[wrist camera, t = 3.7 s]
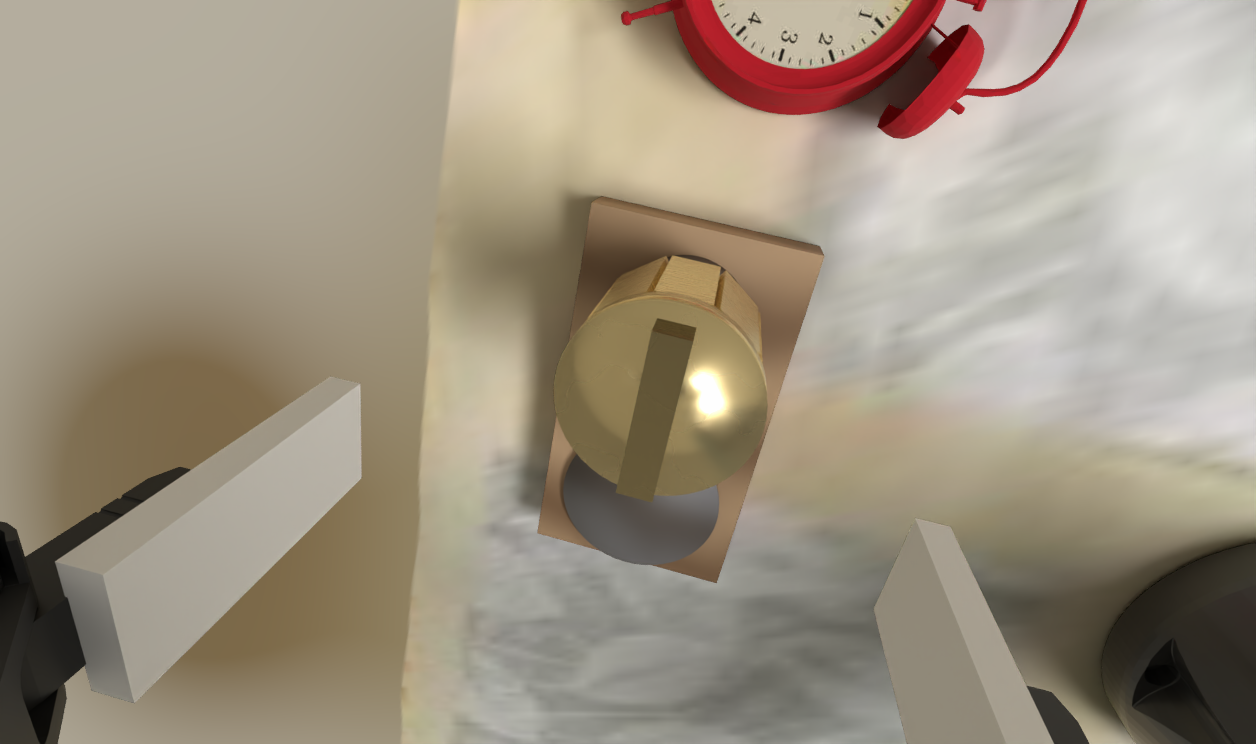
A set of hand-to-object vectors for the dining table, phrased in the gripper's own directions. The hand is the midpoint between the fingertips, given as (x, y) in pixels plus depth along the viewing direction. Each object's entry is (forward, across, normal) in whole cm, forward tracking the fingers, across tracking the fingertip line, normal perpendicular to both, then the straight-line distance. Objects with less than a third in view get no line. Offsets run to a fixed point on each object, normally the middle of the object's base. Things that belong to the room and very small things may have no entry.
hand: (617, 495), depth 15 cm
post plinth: (+16, 0, -5) cm, 17 cm away
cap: (+12, 0, 0) cm, 12 cm away
